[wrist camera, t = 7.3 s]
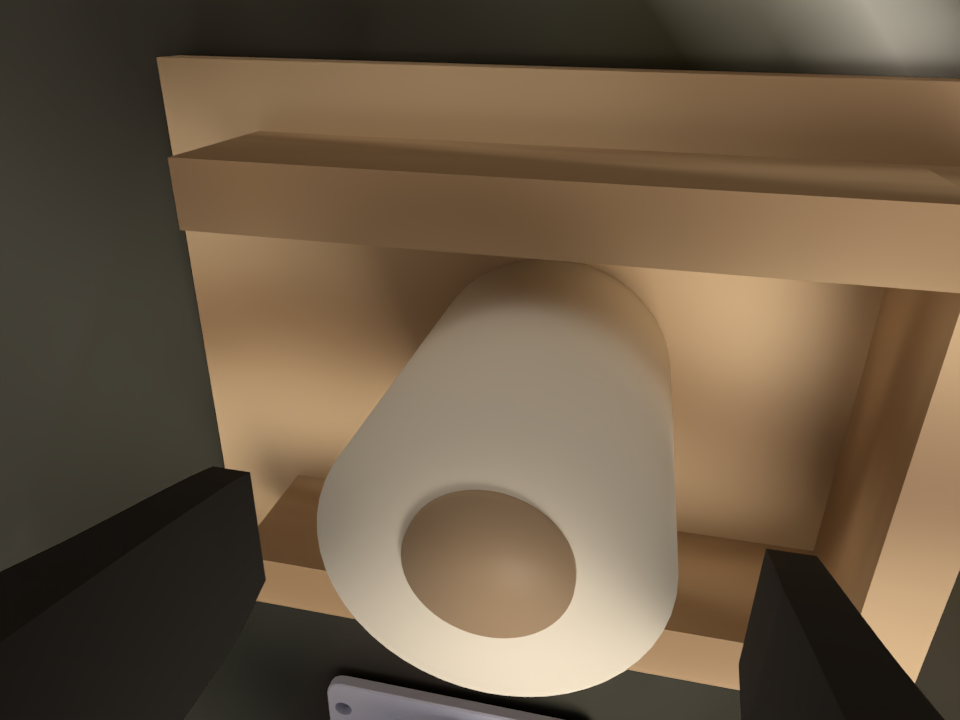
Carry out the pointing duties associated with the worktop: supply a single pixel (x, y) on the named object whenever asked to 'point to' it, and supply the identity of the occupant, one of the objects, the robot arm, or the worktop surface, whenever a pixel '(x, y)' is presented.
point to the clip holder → (626, 257)
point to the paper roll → (515, 489)
